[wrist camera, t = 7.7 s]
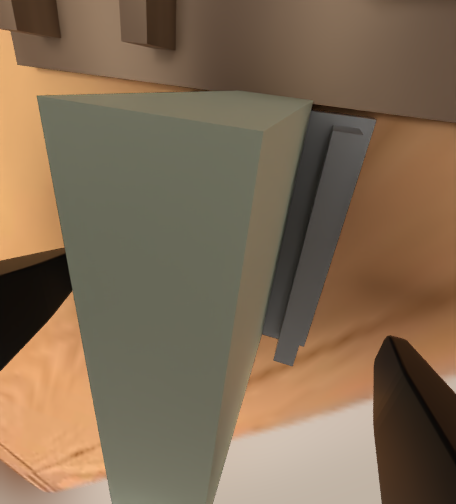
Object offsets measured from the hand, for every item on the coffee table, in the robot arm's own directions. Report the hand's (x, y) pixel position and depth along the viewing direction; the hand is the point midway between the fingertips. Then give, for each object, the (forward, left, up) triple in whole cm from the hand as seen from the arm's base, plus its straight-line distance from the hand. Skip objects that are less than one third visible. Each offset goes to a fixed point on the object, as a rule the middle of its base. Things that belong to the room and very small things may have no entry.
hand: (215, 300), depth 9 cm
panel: (0, 0, -4) cm, 4 cm away
